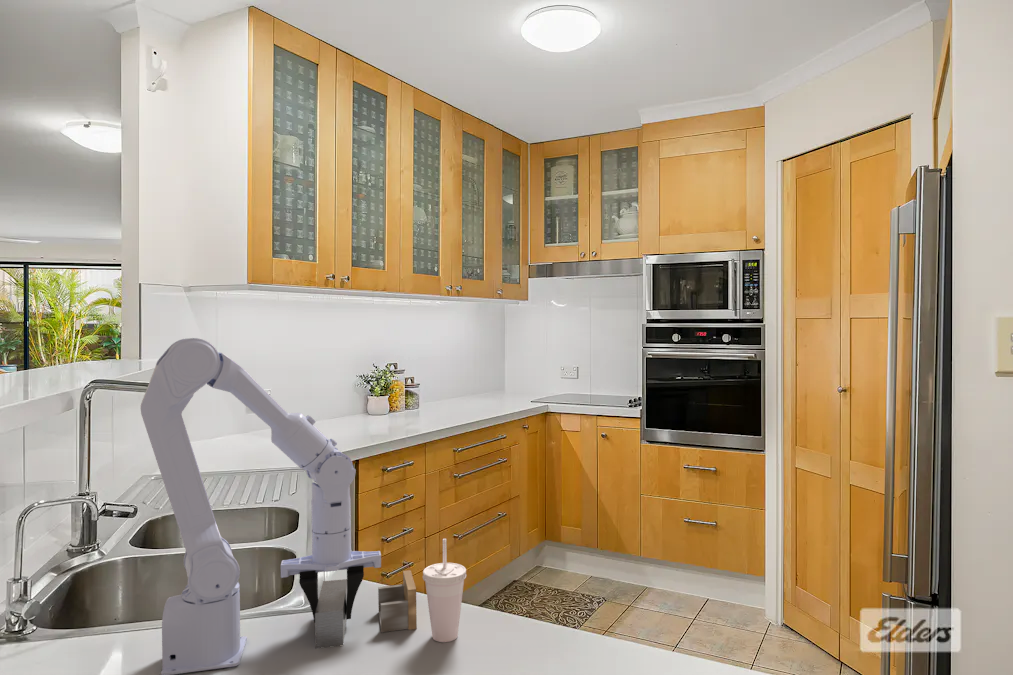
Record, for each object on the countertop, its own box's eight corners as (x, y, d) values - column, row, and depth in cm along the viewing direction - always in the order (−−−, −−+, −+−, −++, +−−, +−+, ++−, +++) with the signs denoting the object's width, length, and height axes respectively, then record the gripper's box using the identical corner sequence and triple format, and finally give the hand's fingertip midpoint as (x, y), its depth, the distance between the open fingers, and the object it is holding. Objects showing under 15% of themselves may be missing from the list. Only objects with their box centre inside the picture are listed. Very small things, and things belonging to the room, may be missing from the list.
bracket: (381, 633, 94) (380, 593, 94) (378, 611, 101) (377, 573, 101) (416, 629, 95) (416, 589, 95) (411, 607, 103) (410, 570, 103)
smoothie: (467, 625, 96) (466, 533, 96) (467, 645, 89) (466, 546, 89) (424, 627, 95) (423, 534, 95) (421, 647, 89) (420, 548, 89)
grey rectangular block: (343, 645, 90) (342, 610, 90) (315, 648, 89) (315, 613, 89) (348, 610, 102) (347, 579, 102) (323, 612, 101) (323, 581, 101)
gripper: (278, 541, 90) (279, 636, 90) (381, 532, 94) (383, 623, 94) (282, 527, 97) (283, 615, 97) (379, 518, 100) (380, 604, 100)
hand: (332, 618), depth 96 cm, fingers closed on grey rectangular block, 4 cm apart
